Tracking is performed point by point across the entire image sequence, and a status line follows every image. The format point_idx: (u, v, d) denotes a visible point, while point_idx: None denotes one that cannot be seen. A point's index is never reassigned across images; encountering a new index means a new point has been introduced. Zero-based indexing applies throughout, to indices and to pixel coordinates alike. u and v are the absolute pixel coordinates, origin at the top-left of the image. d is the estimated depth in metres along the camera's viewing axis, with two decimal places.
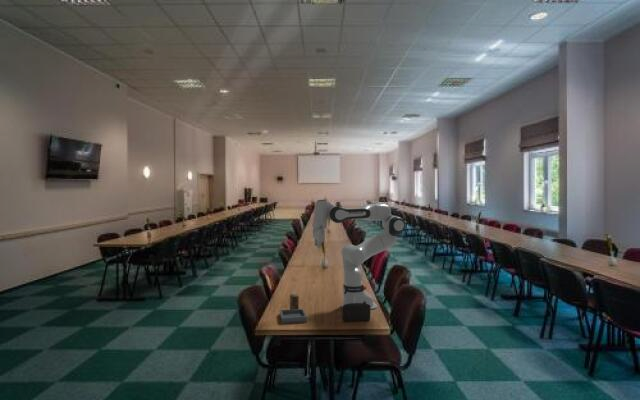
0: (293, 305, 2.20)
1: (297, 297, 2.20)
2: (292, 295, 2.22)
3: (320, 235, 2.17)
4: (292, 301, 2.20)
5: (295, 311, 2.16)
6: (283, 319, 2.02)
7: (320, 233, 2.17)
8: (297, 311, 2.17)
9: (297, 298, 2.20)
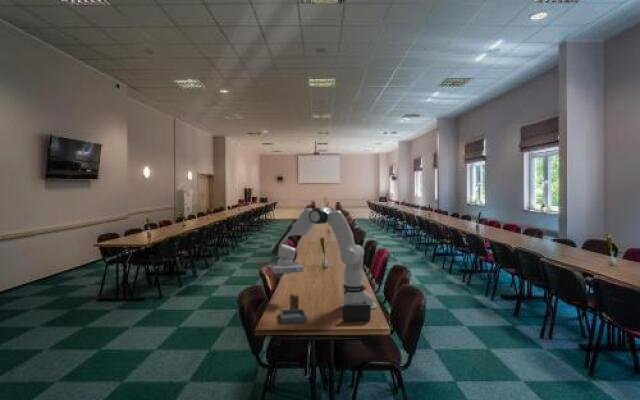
0: (293, 305, 2.20)
1: (297, 297, 2.20)
2: (292, 295, 2.22)
3: None
4: (292, 301, 2.20)
5: (295, 311, 2.16)
6: (283, 319, 2.02)
7: (273, 270, 2.40)
8: (297, 311, 2.17)
9: (297, 298, 2.20)
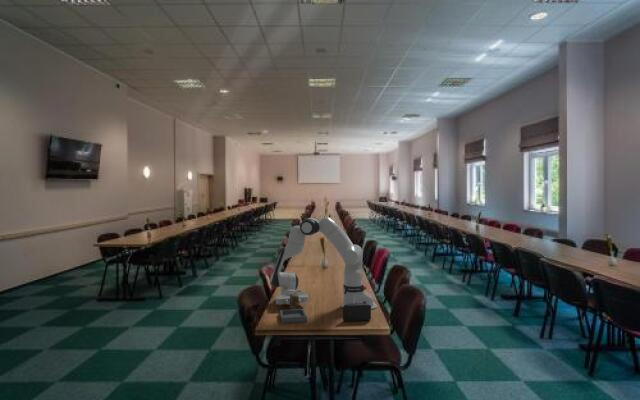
0: (293, 305, 2.20)
1: (297, 297, 2.20)
2: (292, 295, 2.22)
3: None
4: (292, 301, 2.20)
5: (295, 311, 2.16)
6: (283, 319, 2.02)
7: None
8: (297, 311, 2.17)
9: (297, 298, 2.20)
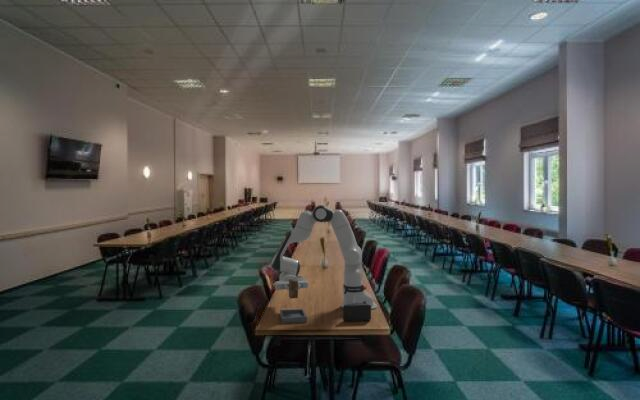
0: (292, 290, 2.11)
1: (296, 282, 2.12)
2: (291, 280, 2.13)
3: None
4: (291, 286, 2.11)
5: (295, 311, 2.16)
6: (283, 319, 2.02)
7: None
8: (297, 311, 2.17)
9: (296, 283, 2.12)
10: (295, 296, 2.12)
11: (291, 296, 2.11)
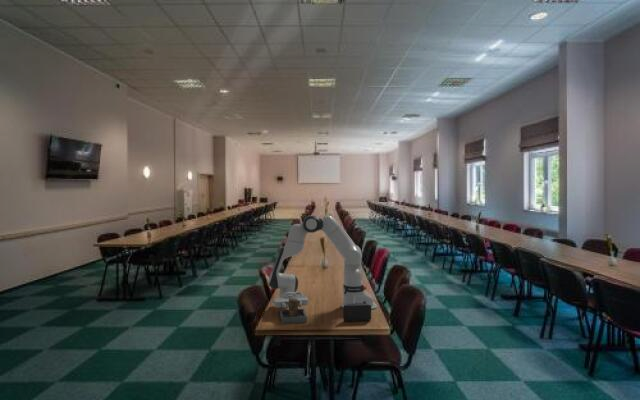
0: (292, 310, 2.08)
1: (297, 301, 2.08)
2: (291, 299, 2.10)
3: None
4: (291, 305, 2.07)
5: None
6: (283, 319, 2.02)
7: None
8: None
9: (297, 302, 2.08)
10: (295, 316, 2.08)
11: (291, 316, 2.08)
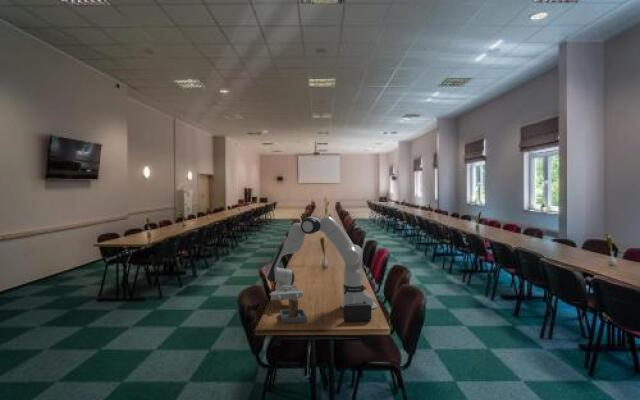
0: (292, 310, 2.08)
1: (297, 301, 2.08)
2: (291, 299, 2.10)
3: None
4: (291, 305, 2.07)
5: None
6: (283, 319, 2.02)
7: (271, 296, 2.28)
8: None
9: (297, 302, 2.08)
10: (295, 316, 2.08)
11: (291, 316, 2.08)
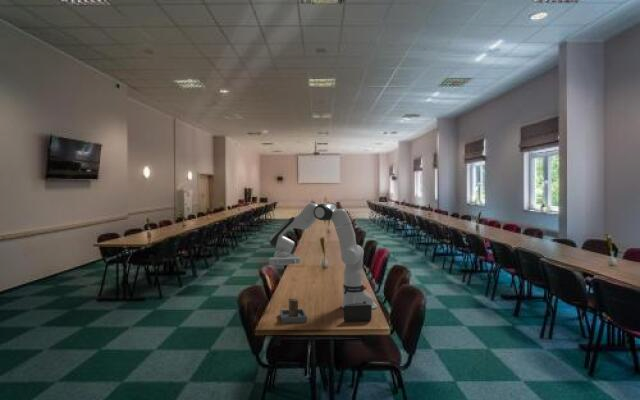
0: (292, 310, 2.08)
1: (297, 301, 2.08)
2: (291, 299, 2.10)
3: None
4: (291, 305, 2.07)
5: None
6: (283, 319, 2.02)
7: None
8: None
9: (297, 302, 2.08)
10: (295, 316, 2.08)
11: (291, 316, 2.08)
